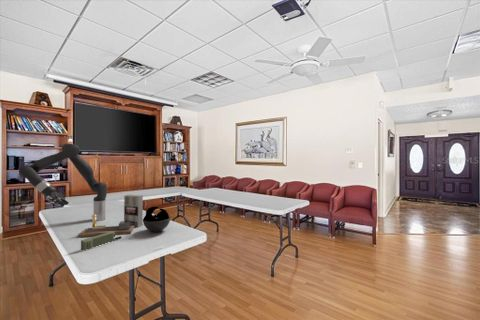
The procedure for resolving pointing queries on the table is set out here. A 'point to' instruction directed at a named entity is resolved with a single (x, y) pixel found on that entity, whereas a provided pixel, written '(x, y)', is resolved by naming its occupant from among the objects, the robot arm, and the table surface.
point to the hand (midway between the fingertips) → (65, 204)
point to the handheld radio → (98, 240)
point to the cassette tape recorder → (133, 209)
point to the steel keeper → (124, 225)
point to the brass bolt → (95, 223)
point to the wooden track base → (104, 231)
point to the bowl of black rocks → (156, 219)
